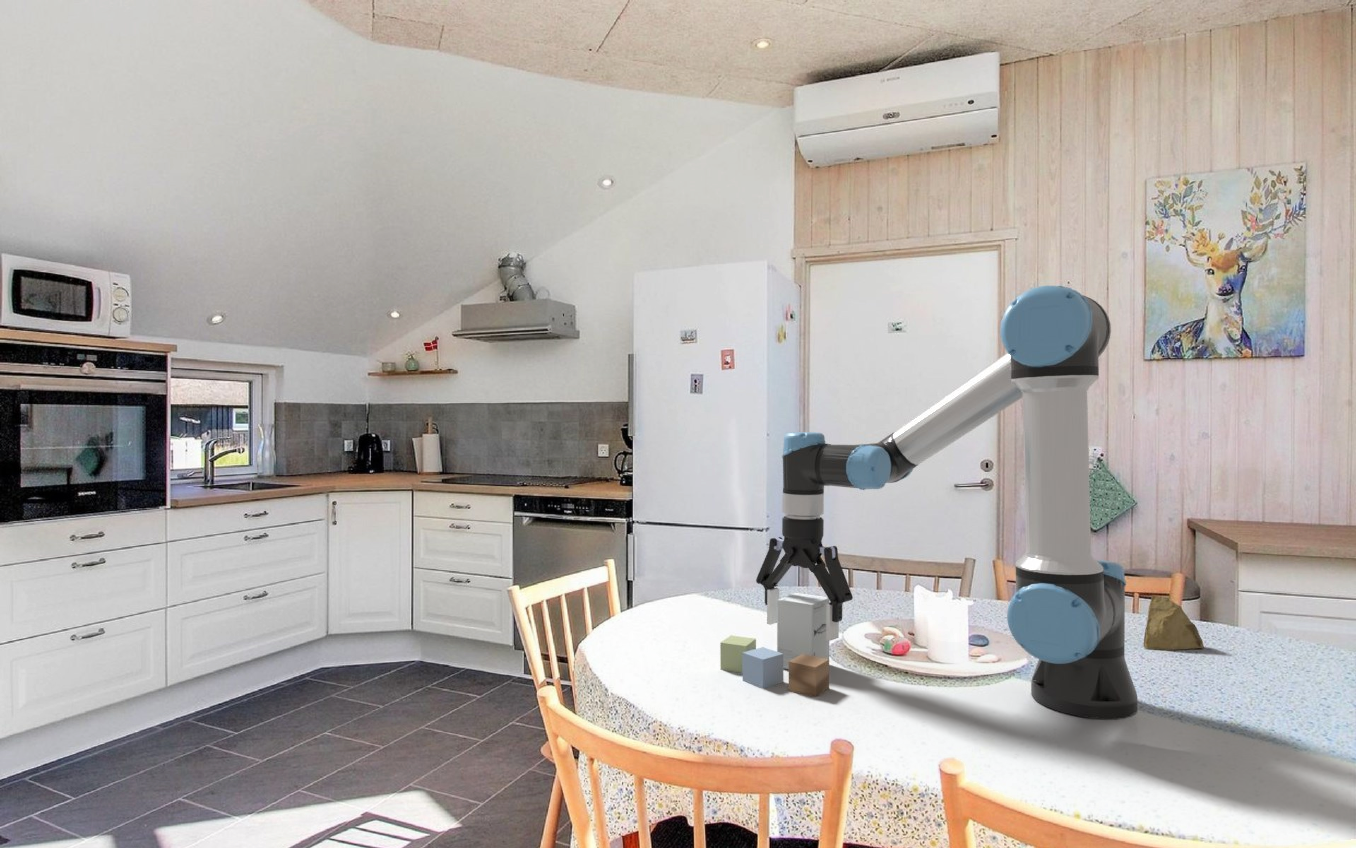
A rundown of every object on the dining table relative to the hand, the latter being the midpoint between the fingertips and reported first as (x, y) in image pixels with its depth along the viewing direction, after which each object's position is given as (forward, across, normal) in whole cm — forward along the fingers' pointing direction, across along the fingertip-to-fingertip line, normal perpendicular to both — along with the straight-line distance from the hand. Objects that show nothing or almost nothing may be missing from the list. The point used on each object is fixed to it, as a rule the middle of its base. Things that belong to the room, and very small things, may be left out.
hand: (801, 631), depth 142 cm
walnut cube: (+6, -8, +9) cm, 14 cm away
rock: (+6, -44, -61) cm, 76 cm away
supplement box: (+7, 0, 0) cm, 7 cm away
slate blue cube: (+7, 0, +11) cm, 13 cm away
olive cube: (+7, +8, +9) cm, 13 cm away
